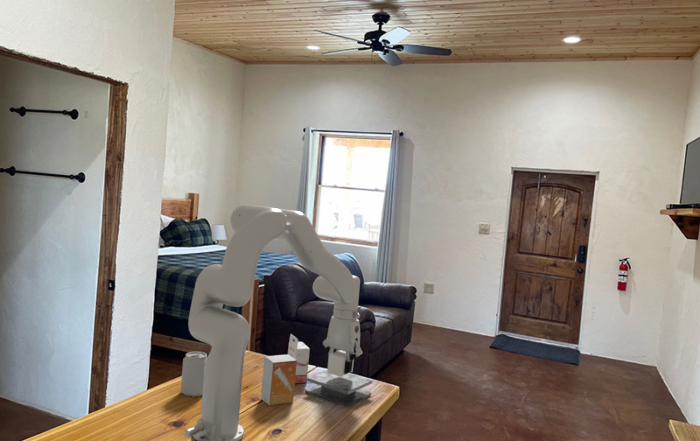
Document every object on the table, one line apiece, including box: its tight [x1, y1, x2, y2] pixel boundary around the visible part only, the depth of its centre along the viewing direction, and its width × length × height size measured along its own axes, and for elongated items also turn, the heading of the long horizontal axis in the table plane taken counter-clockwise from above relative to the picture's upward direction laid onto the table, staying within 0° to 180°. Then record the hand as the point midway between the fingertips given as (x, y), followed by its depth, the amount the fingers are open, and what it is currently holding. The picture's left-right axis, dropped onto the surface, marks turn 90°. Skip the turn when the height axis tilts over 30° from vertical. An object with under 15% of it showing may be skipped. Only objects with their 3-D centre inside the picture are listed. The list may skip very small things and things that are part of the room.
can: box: [180, 351, 208, 398], centre depth 164 cm, size 8×8×12 cm
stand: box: [304, 369, 373, 408], centre depth 174 cm, size 14×16×5 cm
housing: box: [326, 350, 355, 377], centre depth 174 cm, size 5×7×6 cm
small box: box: [260, 353, 297, 406], centre depth 164 cm, size 8×6×13 cm
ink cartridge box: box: [287, 333, 311, 384], centre depth 185 cm, size 9×5×15 cm, turn 25°
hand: (340, 369), depth 174 cm, fingers closed on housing, 5 cm apart
